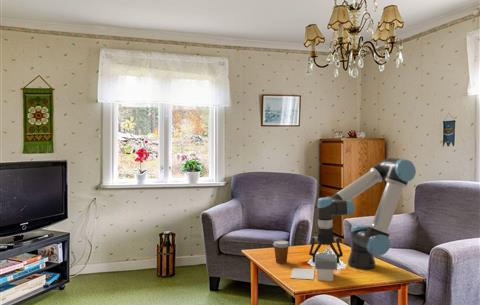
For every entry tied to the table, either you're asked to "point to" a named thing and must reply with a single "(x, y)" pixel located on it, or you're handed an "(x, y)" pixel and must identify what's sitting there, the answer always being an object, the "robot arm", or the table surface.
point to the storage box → (325, 274)
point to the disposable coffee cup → (281, 251)
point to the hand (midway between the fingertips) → (326, 268)
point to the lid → (325, 261)
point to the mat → (302, 273)
